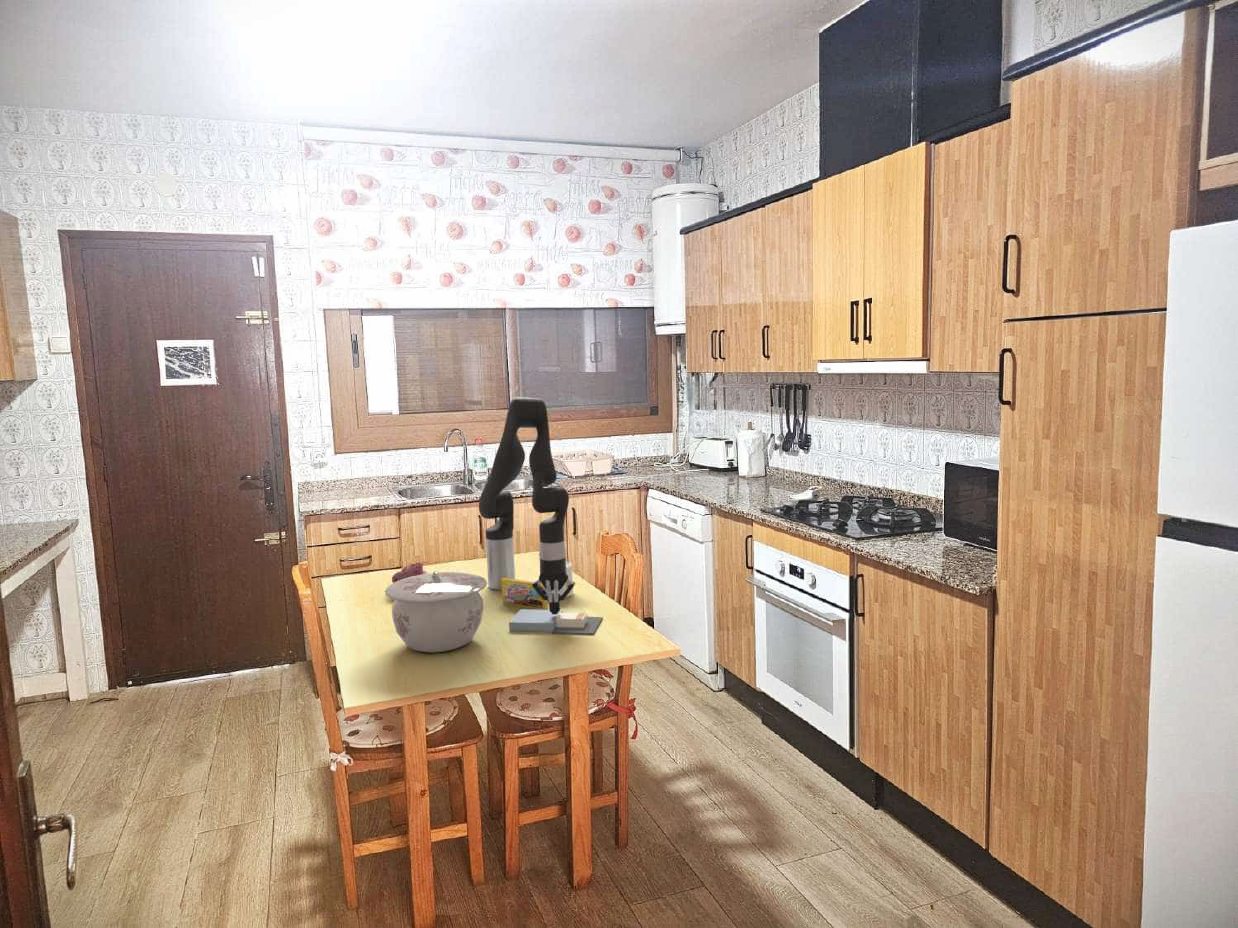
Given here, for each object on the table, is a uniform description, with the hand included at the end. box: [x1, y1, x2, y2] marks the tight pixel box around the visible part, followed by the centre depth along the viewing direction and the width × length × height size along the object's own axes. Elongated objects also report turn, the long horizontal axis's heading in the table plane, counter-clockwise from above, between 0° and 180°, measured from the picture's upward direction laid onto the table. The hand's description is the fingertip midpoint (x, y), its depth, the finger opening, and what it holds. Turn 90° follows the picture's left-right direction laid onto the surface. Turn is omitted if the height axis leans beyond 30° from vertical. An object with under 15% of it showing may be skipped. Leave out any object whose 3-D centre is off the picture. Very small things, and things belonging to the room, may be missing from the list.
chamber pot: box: [384, 570, 488, 654], centre depth 222 cm, size 28×28×21 cm
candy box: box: [501, 578, 548, 610], centre depth 255 cm, size 16×2×8 cm, turn 62°
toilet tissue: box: [546, 561, 574, 599], centre depth 266 cm, size 11×12×10 cm
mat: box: [551, 616, 603, 636], centre depth 235 cm, size 14×12×1 cm
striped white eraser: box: [556, 612, 588, 628], centre depth 235 cm, size 6×8×3 cm
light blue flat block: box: [508, 608, 564, 633], centre depth 237 cm, size 12×13×2 cm
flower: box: [391, 561, 428, 584], centre depth 273 cm, size 15×15×10 cm
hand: (554, 613), depth 236 cm, fingers closed
